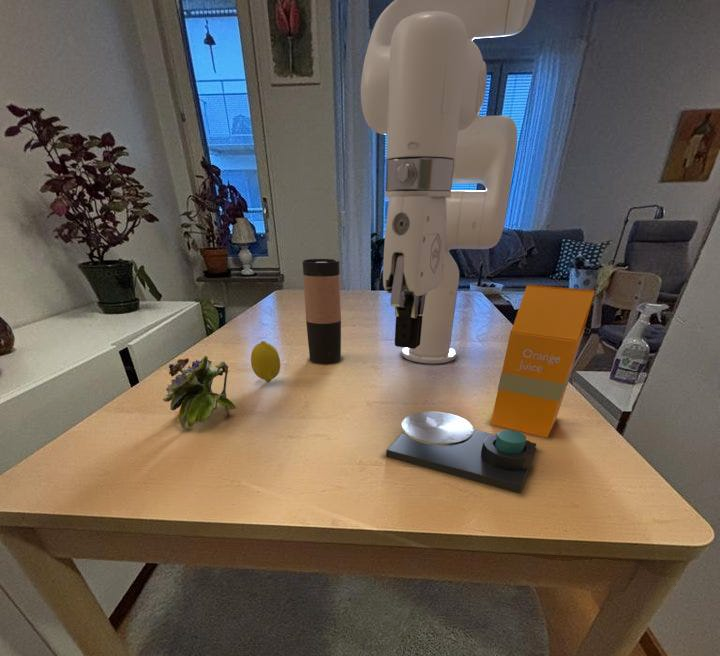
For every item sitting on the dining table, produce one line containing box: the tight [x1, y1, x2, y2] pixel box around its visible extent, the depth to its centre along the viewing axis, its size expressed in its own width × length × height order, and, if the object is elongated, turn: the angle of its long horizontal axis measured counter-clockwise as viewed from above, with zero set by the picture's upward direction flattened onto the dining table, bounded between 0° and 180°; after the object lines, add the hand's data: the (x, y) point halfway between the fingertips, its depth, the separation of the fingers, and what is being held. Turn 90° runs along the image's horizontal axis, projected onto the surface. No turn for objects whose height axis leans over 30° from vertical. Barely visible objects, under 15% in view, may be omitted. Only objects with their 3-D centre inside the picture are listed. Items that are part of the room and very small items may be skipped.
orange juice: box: [490, 284, 596, 438], centre depth 59 cm, size 8×9×20 cm
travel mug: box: [302, 258, 342, 365], centre depth 85 cm, size 8×8×20 cm
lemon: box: [250, 340, 281, 383], centre depth 76 cm, size 6×6×8 cm
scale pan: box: [401, 410, 475, 446], centre depth 55 cm, size 10×10×1 cm
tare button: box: [495, 429, 527, 454], centre depth 51 cm, size 4×4×2 cm
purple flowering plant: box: [162, 355, 237, 431], centre depth 64 cm, size 11×11×12 cm
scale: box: [385, 429, 537, 494], centre depth 55 cm, size 12×18×3 cm, turn 62°
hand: (407, 345), depth 55 cm, fingers closed
